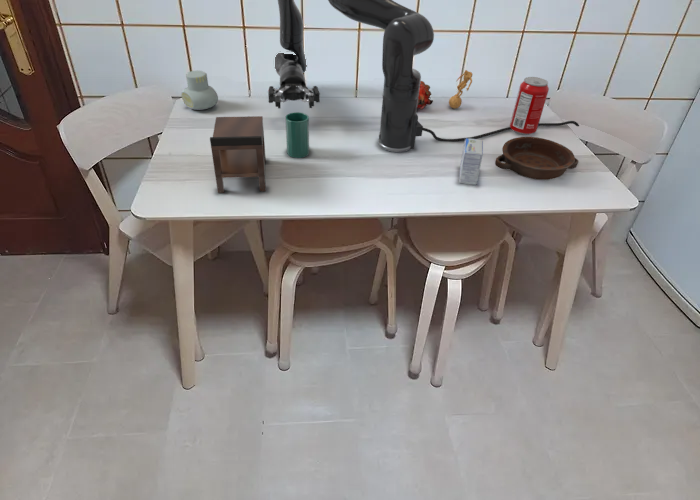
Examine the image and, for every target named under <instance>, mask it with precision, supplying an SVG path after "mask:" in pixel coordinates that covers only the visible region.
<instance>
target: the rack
mask: <svg viewBox="0 0 700 500" xmlns="http://www.w3.org/2000/svg"><path fill="white" fill-rule="evenodd" d="M209 142H210V149H211V155H212V162H213V163H212V164H213V169H214V176H215V183H216V190H217V193H218V194H224V193H225V185H224V179H225V178H226V179H229V178H230V179H231V178H258V187H259V188H258V189H259V192H266V191H267V188H266V175H265V173H266V172H265V171H266V169H265V168H266V167H265V166H266V165H265V163H267V158H266V157H267V156H266V145H265V131H264V117H263V116H262V115H259V116H257V115H256V116H216V117H215V122H214V127H213V133H212V136H210V137H209Z"/></svg>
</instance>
